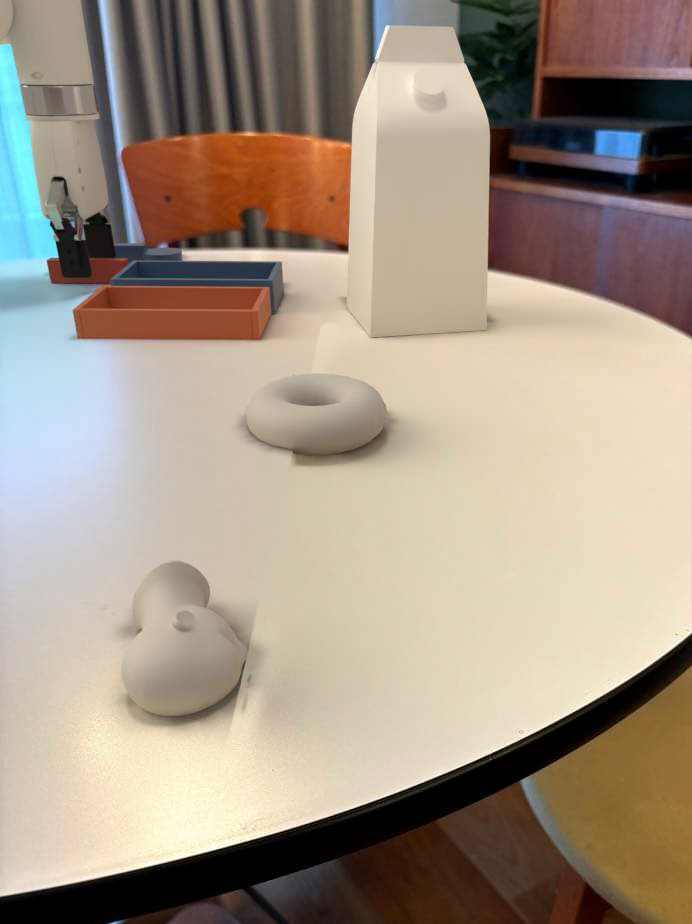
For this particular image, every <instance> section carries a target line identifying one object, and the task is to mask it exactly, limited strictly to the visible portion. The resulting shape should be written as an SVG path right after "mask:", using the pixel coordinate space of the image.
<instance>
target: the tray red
mask: <svg viewBox="0 0 692 924" xmlns="http://www.w3.org/2000/svg"><path fill="white" fill-rule="evenodd" d="M72 315H73V320H74V325H75V326H74V327H75V331H76V336H77V339H97V340H98V339H102V340H103V339H105V340H107V339H109V340H110V339H114V340H115V339H116V340H118V339H119V340H120V339H121V340H129V339H130V340H261V338H262V336H263V334H264V331H265V328H266V326H267V324H268V322H269V320H270V317H271V316H272V314H271V302H270V288H269V287H203V286H111V285H101V286H100V287H99V288H97V289H96V290H95V291H94V292H92V293H91V294H90V295H89V296H88V297H86V298H85V299H84V300H83V301H82V302H80V303H79V304H77V306H75V307H74V308H73V309H72Z"/></svg>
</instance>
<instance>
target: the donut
mask: <svg viewBox="0 0 692 924" xmlns="http://www.w3.org/2000/svg"><path fill="white" fill-rule="evenodd" d="M387 414H388V409H387V405H386V403H385V400H384V398H383V397H382V395H381V394H380V392H379V391H378V390H377V389H376V388H375V387H373V386H372V385H371V384H368V383H367V382H365V381H363V380H360V379H358V378H355V377H350V376H347V375H341V374H334V373H303V374H295V375H290V376H285V377H281V378H279V379H275V380H273V381H270V382H267V383H266V384H264V385H262V386H261V387H259V388H257V390H256V391H255V392H254V393H253V394H252V396H251V397H250V399H249V400H248V402H247V404H246V406H245V418H246V422H247V427H248V430H249V431H250V433H251V434H253V435H254V436H255V438H257V439H258V440H259V441H260V442H261V441H262V442H264V443H266V444H269V445H272V446H274V447H278V448H283V449H289V450H292V455H299V456H328V455H336V454H341V453H344V452H349V451H352V450H353V451H354V450H356V449H358V448H361V447H362V446H365V445H368V444H369V443H370V442H371V441H372V440H373V439H374V438H376V437H377V436H378V435H379V434H380V433H381V432H382V430H383V428H384V426H385V423H386V419H387Z"/></svg>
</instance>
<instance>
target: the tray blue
mask: <svg viewBox="0 0 692 924" xmlns="http://www.w3.org/2000/svg"><path fill="white" fill-rule="evenodd" d="M283 273H284V271H283V262H282V261H281V260H280V261H276V260H275V261H270V260H269V261H268V260H262V261H261V260H260V261H259V260H252V261H251V260H183V261H162V260H133V261H132V262H131V263H129V264H128V265H127V266H126V267H124V268H123V269H122V270H121V271H120V272H118V273H117V274H116V275H115V276H113V277H112V278H111V279H110V282H111V283H110V286H203V287H269V288H270V302H271V315H276V312H277V309H278V308H279V305H280V303H281V301H282V297H283V295H284V294H285V293H284V292H285V289H284V276H283V275H284V274H283Z"/></svg>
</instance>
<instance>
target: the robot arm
mask: <svg viewBox="0 0 692 924" xmlns="http://www.w3.org/2000/svg"><path fill="white" fill-rule="evenodd" d="M88 44H89V43H88V39H87V33H86V25H85V19H84V14H83V7H82V1H81V0H0V46H3V45H10V47H11V51H12V56H13V61H14V65H15V70H16V71H15V72H16V75H17V80H18V84H19V89H20V94H21V99H22V103H23V110H24V115H25V119H26V121H29V126H30V127H29V129H30V131H29V132H30V144H31V155H32V160H33V162H32V163H33V169H34V174H35V182H36V187H37V193H38V201H39V204H40V211H41V214H42V216H43V217H44V218H45V219H46V220H49V227H50V228H51V229H52V237H53V240H54V243H55V246H56V251H57V256H58V257H57V258H59V262H60V267H61V272H62V275H63V277H65V278H89V277H91V276H92V271H91V265H90V260H89V258H115V257H116V252H115V246H114V243H115V240H114V236H113V229H112V224H111V215H110V213H109V211H108V206H109V195H108V194H109V193H108V186H107V180H106V173H105V168H104V163H103V158H102V157H103V156H102V153H101V149H100V143H99V140H98V135H97V131H96V127H95V123H94V120H100V119H101V118H100V112H99V105H98V99H97V93H96V86H95V81H94V73H93V68H92V63H91V56H90V51H89V45H88ZM84 222H85V223H84ZM72 223H73V225H72ZM83 232H84V238H85V239H83Z"/></svg>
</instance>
